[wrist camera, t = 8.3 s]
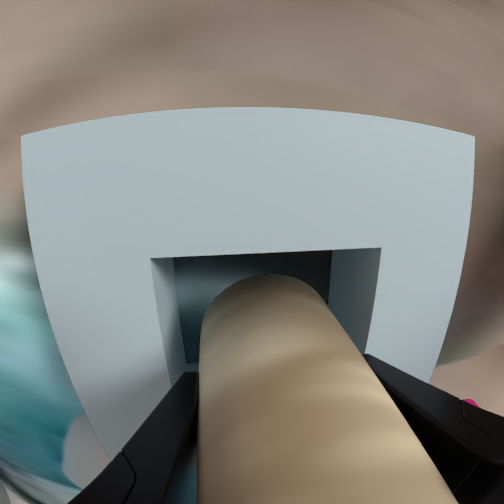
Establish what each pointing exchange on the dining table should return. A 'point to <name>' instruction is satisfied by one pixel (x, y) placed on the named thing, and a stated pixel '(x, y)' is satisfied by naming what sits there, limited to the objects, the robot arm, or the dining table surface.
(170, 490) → the robot arm
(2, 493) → the serving bowl
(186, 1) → the dining table surface
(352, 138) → the socket block
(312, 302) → the birch peg
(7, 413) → the dining table surface
